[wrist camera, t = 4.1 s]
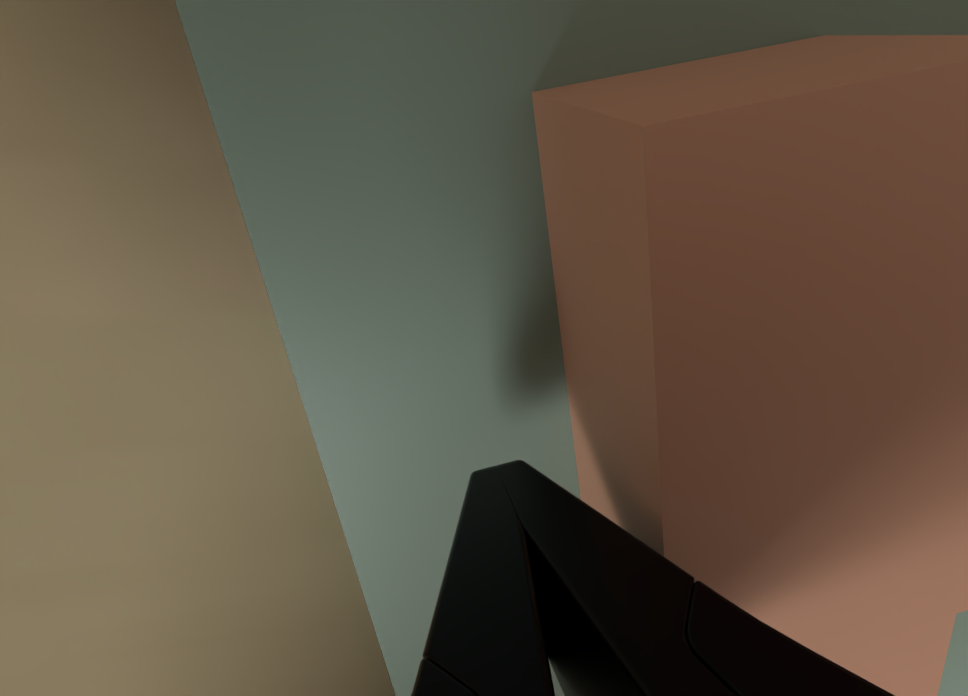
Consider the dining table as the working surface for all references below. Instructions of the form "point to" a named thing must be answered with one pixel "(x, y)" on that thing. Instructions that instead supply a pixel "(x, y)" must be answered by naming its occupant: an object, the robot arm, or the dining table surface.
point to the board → (442, 235)
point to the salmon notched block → (778, 330)
